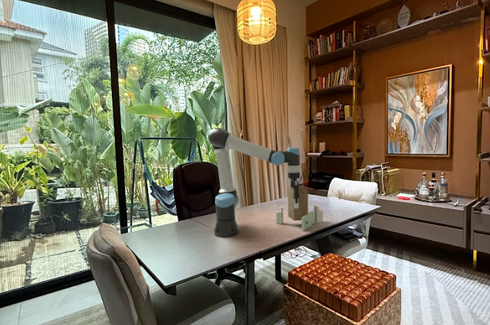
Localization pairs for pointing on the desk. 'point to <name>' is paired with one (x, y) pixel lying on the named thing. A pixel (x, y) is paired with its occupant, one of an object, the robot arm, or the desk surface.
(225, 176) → the robot arm
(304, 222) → the door
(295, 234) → the desk surface
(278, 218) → the l-shaped block
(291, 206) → the wooden block
